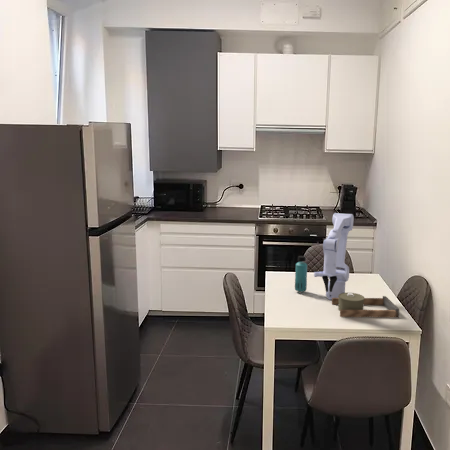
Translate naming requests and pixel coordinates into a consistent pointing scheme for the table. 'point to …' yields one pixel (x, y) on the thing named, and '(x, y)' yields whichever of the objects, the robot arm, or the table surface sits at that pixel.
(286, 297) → the table surface
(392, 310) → the bay
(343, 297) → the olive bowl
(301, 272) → the beverage bottle
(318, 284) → the table surface
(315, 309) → the table surface
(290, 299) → the table surface
